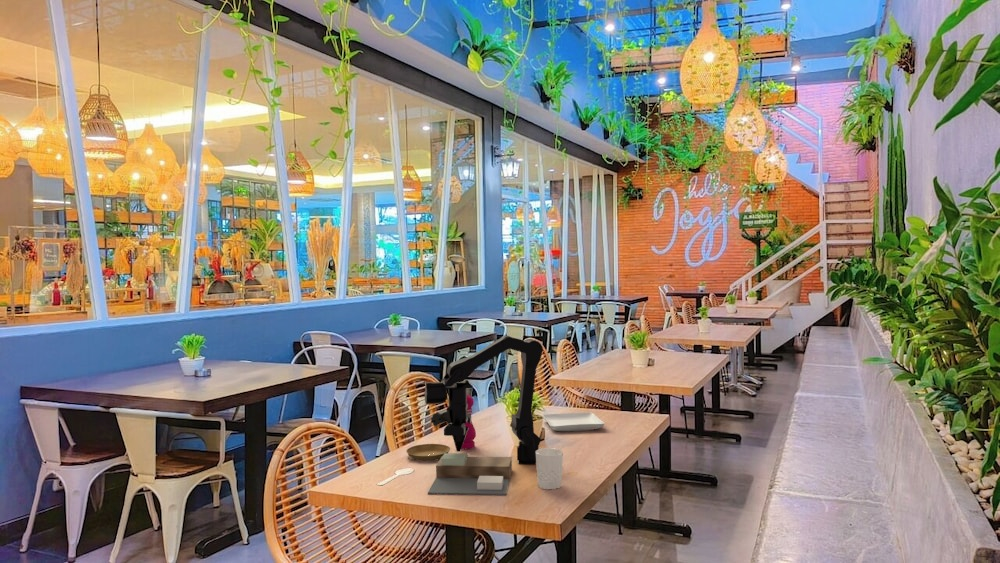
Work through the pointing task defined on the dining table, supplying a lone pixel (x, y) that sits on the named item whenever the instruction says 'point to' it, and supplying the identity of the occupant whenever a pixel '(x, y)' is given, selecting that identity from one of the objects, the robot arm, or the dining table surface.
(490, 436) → the dining table surface
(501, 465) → the deck
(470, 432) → the pepper mill
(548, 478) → the white cup
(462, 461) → the tile sage
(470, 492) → the mat
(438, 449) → the plant saucer
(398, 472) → the spoon
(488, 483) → the tile cream
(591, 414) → the salad plate
